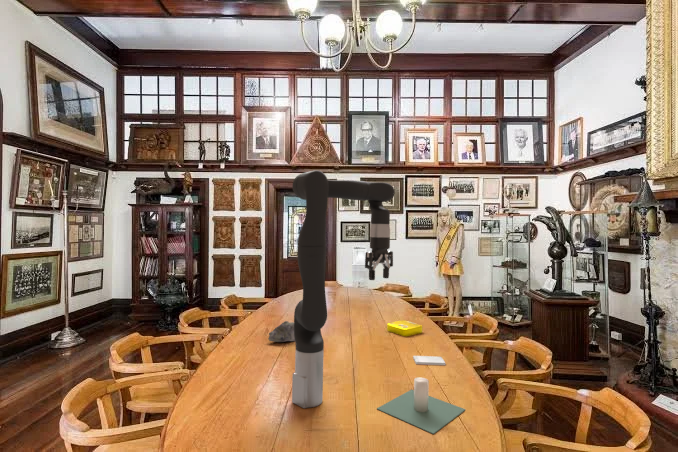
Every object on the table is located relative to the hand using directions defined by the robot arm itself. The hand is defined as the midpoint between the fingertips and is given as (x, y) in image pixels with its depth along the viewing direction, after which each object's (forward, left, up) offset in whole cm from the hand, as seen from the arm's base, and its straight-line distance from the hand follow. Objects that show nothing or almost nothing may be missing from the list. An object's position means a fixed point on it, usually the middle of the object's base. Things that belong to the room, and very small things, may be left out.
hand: (379, 279), depth 141 cm
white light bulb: (-8, -24, -38) cm, 45 cm away
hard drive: (+32, -3, -39) cm, 51 cm away
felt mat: (-8, -24, -38) cm, 46 cm away
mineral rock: (+4, +62, -38) cm, 73 cm away
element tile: (+64, +31, -39) cm, 81 cm away
